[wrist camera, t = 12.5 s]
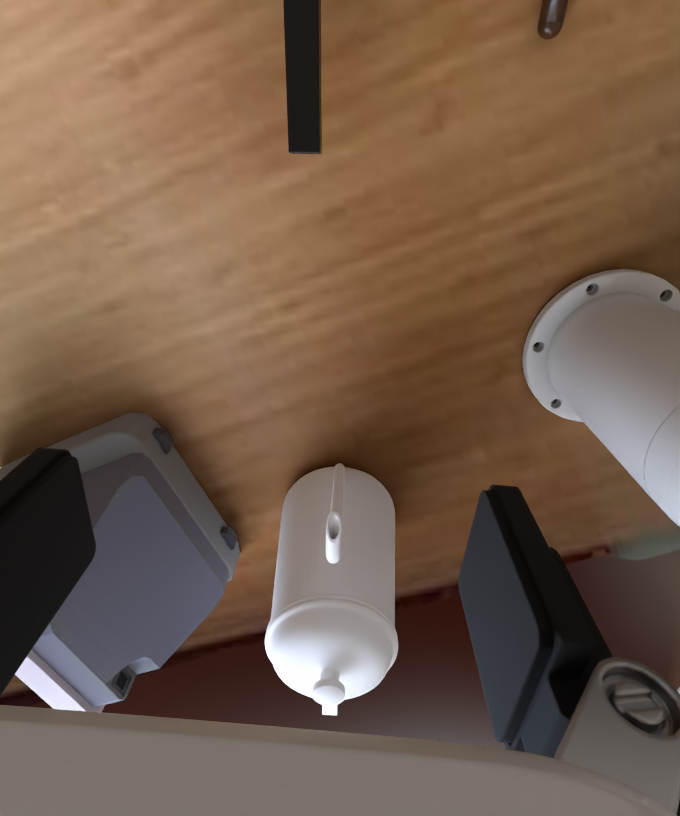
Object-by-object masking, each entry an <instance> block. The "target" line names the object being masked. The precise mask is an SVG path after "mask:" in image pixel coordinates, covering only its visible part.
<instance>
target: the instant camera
mask: <svg viewBox="0 0 680 816" xmlns="http://www.w3.org/2000/svg"><path fill="white" fill-rule="evenodd" d="M173 445H174V443H173V439H172V438H171V436H170V434H169V433H168V431H167V430H165V429H163V428H161V427H160V425H159V424H158V423H157V422H156V421H155V420H154V419H152V418H151V417H150V416H148V415H147V414H146V413H126V414H124V415H122V416H119V417H117V418H114V419H112V420H110V421H107V422H105V423H103V424H100V425H98V426H95V427H93V428H91V429H88V430H86V431H83V432H81V433H79V434H76V435H74V436H71V437H69V438H67V439H64V440H62V441H60V442H57V443H55V444H52V445H50V446H48V447H45V448H54V449H65V450H68V451H69V452H70V453H71V456H73V457H76V458H77V460H78V463H79V468H80V472H81V477H82V482H83V486H84V491H85V496H86V500H87V505H88V510H89V514H90V519H91V524H92V528H93V533H94V538H95V542H96V551H95V555H94V558H93V560H92V562H91V563H90V564H89V566H88V567H87V569H86V570H85V572H84V573H83V575H82V576H81V578H80V579H79V581H78V582H77V584H76V585H75V586H74V588H73V589H72V591H71V592H70V594H69V595H68V597H67V598H66V600H65V601H64V603H63V604H62V606H61V607H60V609H59V610H58V611H57V613H56V614H55V616H54V617H53V619H52V620H51V622H50V623H49V625H48V626H47V628H46V629H45V631H44V632H43V634H42V635H41V636H40V638H39V639H38V641H37V642H36V644H35V645H34V647H33V648H32V650H31V651H30V653H29V654H28V656H27V657H26V659H25V660H24V661H23V663H22V664H21V666H20V667H19V669H18V670H17V672H16V673H15V675H16V676H17V677H19V678H20V679H21V680H22V681H23V682H24V683H25V684H26V685H27V686H29V687H30V688H31V689H32V690H33V691H34V692H35V693H36V694H38V695H39V696H40V697H41V698H42V699H43V700H44V701H45V702H47V703H48V704H49V705H50V706H51V707H52V708H53V709H61V710H74V711H87V712H100V713H101V712H102V710H103V708H104V706H105V705H106V704H110V703H114V702H117V701H122V700H124V699H125V698H126V697H127V695H128V693H129V691H130V689H131V686H132V684H133V681H134V680H135V677H136V675H137V674H140V673H144V672H148V671H152V670H155V669H159V668H160V667H161V666H162V665H163V664H164V663H165V662H166V661H167V660H168V658H169V657H170V656H171V655H172V654H173V653H174V652H175V651H176V650H177V649H178V648H179V646H180V645H181V644H182V643H183V642H184V641H185V640H186V639H187V638H188V637H189V635H190V634H191V633H192V632H193V631H194V630H195V629H196V628H197V627H198V626H199V624H200V623H201V622H202V621H203V620H204V619H205V618H206V617H207V616H208V615H209V613H210V612H211V611H212V610H213V609H214V608H215V606H216V605H217V603H218V602H219V600H220V599H221V597H222V595H223V593H224V590H225V587H226V584H227V581H229V580H231V579H232V578H233V574H234V571H235V568H236V565H237V561H238V558H239V555H240V550H239V543H238V542H237V535H236V534H235V532H234V531H233V529H232V528H230V527H227V525H226V524H225V522H224V521H223V519H222V518H221V516H220V515H219V513H218V512H217V510H216V509H215V507H214V506H213V504H212V503H211V501H210V500H209V498H208V497H207V495H206V494H205V492H204V491H203V489H202V488H201V486H200V485H199V483H198V482H197V480H196V479H195V477H194V476H193V474H192V473H191V471H190V470H189V468H188V467H187V465H186V464H185V462H184V461H183V459H182V458H181V456H180V455H179V453H178V452H177V450H176V449H175V447H174V446H173ZM29 455H30V454H29ZM29 455H26V456H24V457H21V458H19V459H17V460H14V461H12V462H9V463H7V464H6V465H4V466H3V467H2V468H1V469H0V480H1V479H2V478H4V477H5V476H6V475H7V474H8V473H9V472H11V471H12V470H13V469H14V468H15V467H16V466H17V465H19V464H20V463H21V462H22V461H23V460H24V459H25V458H27V457H28V456H29Z"/></svg>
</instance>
